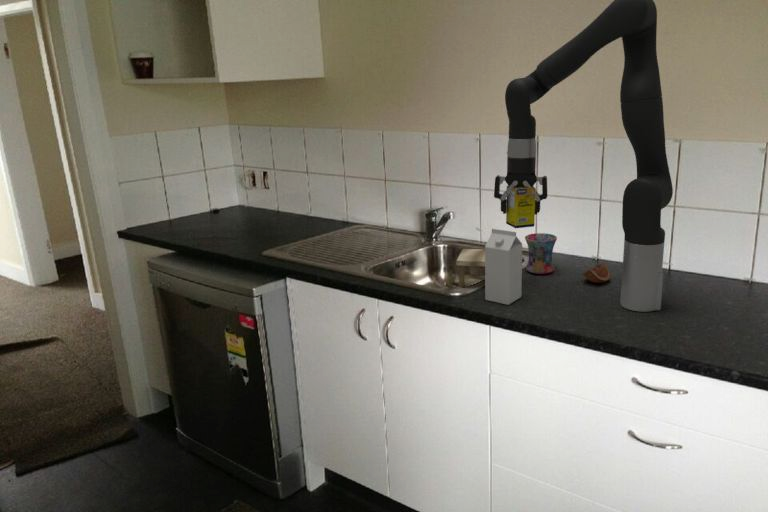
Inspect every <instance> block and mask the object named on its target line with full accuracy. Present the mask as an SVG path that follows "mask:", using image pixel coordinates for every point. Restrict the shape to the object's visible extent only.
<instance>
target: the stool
mask: <svg viewBox="0 0 768 512" xmlns="http://www.w3.org/2000/svg"><path fill="white" fill-rule="evenodd" d="M456 266H458V288H465V279H467V280H470V279H471V280H485V274H470V269H480V270H481V269H483V270H485V248H484V249H483V248H481V249H480V248H478V249H477V248H462V250H461V251H460V253H459V255H458V257H457V259H456Z"/></svg>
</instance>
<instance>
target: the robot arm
mask: <svg viewBox="0 0 768 512" xmlns="http://www.w3.org/2000/svg"><path fill="white" fill-rule="evenodd" d="M657 25H658V10H657V5H656V2H655V1H654V0H613V1H611V3H610V4H609V5H608V6H607V7H606V8H605V9H604V10H603V11H602V12H601V13H600V14H599V15H598V16H597V17H596V18H594V20H593V21H592V22H590V24H588V25H587V27H585V28H584V29H582V30H581V31H580V32H579V33H578V34H577V35H575V36H574V37H573V38H571V39H570V40H569V41H567V42H566V43H564V45H562V46H560V47H559V48H558V49H557V50H555V51H554V52H553V53H551V54H550V55H548V56H547V57H545V58H543V60H541V61H540V62H539V63H538V64H537V66H536V68H535V69H534V70H533V71H532V72H530V73H529V74H528V75H527V76H525V77H518V78H514V79H512V80H511V81H510V82H509V83H508V84H507V86H506V89H505V93H504V99H505V100H504V101H505V107H506V114H507V119H508V142H507V150H506V151H507V152H506V154H507V159H506V160H507V161H506V162H507V163H506V175H505V176H501V175H496V176H495V178H494V191H493V198H494V199H498V200H500V212H502V214H503V215H505V214H506V206H507V196H508V195H509V194H510V192H511V191H512V188H515V187H526V188H532V187H534V185H535V184H536V183H537V182H538V183H539V186H541V191H542V193H540V194H539V193H538V190H536V191H534V190H533V189H532V194H535V216H536V215H538V214H539V213H540V211H541V201H543V200H547V198H548V177H547V175H543V176H537V175H536V163H537V142H536V141H537V140H536V135H537V134H536V133H537V121H536V118H535V116H534V115H532V110H531V109H532V108H531V105H532V104H534V103H535V102H537V101H539V100H540V99H542V98H543V97H544V96H545V95H546V94H547V93H549V91H550V90H552V89H553V88H554V87H555V86H557V85H559V84H560V83H562V82H564V80H566V79H567V78H569V77H570V76H571V75H573V74H574V73H576V72H577V71H578V70H579V69H580V68H581V67H582V66H584V65H585V64H586V63H587V62H588V61H589V60H590V59H591V58H592V57H593V56H594V55H595V54H596V53H597V52H598V51H600V50H602V48H604V47H606V46H608V45H609V44H610V43H613V42H614V41H616V40H618V39H620V38H621V40H622V45H623V47H622V48H623V57H624V58H623V59H624V60H623V61H624V64H623V71H622V77H621V84H620V91H619V92H620V93H619V96H620V98H619V99H620V111H621V120H622V121H621V122H622V126H623V129H624V130H625V131H624V132H625V134H626V136H627V138H628V140H629V143H630V144H631V146H632V149H633V152H634V155H635V162H636V178H635V179H632V180H631V181H629V183H628V184H627V185H626V187H625V188H624V191H623V196H622V216H621V219H622V220H621V222H622V223H621V225H622V231H623V233H624V237H623V238H624V239H623V255H622V256H623V257H622V274H621V289H620V306H621V307H622V308H624V309H626V310H630V311H635V312H642V313H643V312H653V311H654V312H655V311H661V309H662V295H663V285H664V283H663V282H664V273H663V264H664V255H665V253H664V251H665V241H666V240H665V239H666V231H665V229H664V228H663V227H662V226H661V225H662V224H661V220H662V217H661V215H662V210H663V209H665V208H666V207H667V206H669V204H670V202H671V201H672V198H673V194H674V190H673V189H674V188H673V182H672V177H671V173H670V167H669V162H668V158H667V156H668V155H667V150H666V148H667V147H666V133H665V118H664V103H663V94H662V86H661V85H662V84H661V75H660V68H659V61H658V55H657V54H658V53H657V52H658V51H657V32H658V31H657V28H658V27H657ZM504 182H506V183H505V184H507V186H509V188H508V189H507V188H506V189H505V191H504V192H503V193H500V192H501V191H500V189H501V185H502V184H503V183H504ZM511 187H512V188H511Z"/></svg>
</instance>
